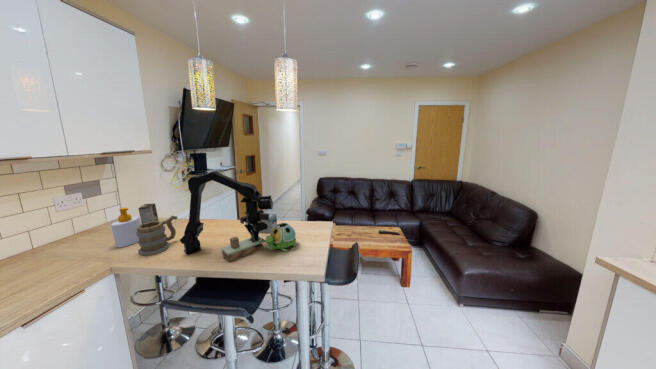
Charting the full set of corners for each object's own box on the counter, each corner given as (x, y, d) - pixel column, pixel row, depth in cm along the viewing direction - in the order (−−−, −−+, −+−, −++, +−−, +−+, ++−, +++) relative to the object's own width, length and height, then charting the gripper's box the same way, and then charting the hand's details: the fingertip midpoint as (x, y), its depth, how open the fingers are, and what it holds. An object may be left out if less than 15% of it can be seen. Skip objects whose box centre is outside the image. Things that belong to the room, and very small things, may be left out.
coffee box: (148, 227, 157) (143, 204, 154) (160, 226, 159) (155, 202, 156) (143, 233, 149) (137, 208, 145) (155, 231, 151) (150, 206, 147)
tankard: (146, 257, 118) (140, 229, 115) (135, 251, 125) (129, 224, 122) (187, 241, 135) (183, 216, 131) (176, 237, 141) (171, 212, 138)
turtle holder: (258, 252, 120) (256, 230, 118) (285, 238, 135) (283, 218, 132) (275, 259, 113) (273, 235, 111) (301, 244, 128) (300, 223, 125)
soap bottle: (122, 248, 129) (113, 212, 124) (112, 246, 131) (103, 211, 127) (147, 238, 141) (140, 205, 136) (137, 236, 144) (130, 204, 139)
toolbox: (229, 261, 112) (228, 255, 111) (222, 256, 118) (221, 249, 117) (264, 248, 124) (264, 241, 124) (257, 243, 130) (256, 237, 129)
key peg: (254, 249, 123) (253, 234, 122) (252, 247, 125) (250, 233, 124) (259, 247, 125) (258, 233, 123) (257, 245, 127) (255, 231, 125)
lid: (228, 255, 111) (226, 244, 110) (221, 249, 117) (219, 239, 116) (265, 241, 124) (264, 232, 123) (257, 236, 130) (256, 227, 129)
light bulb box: (278, 229, 148) (276, 212, 146) (272, 233, 142) (271, 216, 139) (262, 228, 151) (261, 211, 149) (256, 232, 145) (255, 215, 142)
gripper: (275, 209, 120) (278, 238, 123) (257, 202, 133) (260, 229, 136) (255, 215, 112) (258, 246, 115) (238, 207, 125) (241, 235, 129)
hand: (255, 238), depth 124 cm, fingers closed on key peg, 3 cm apart
